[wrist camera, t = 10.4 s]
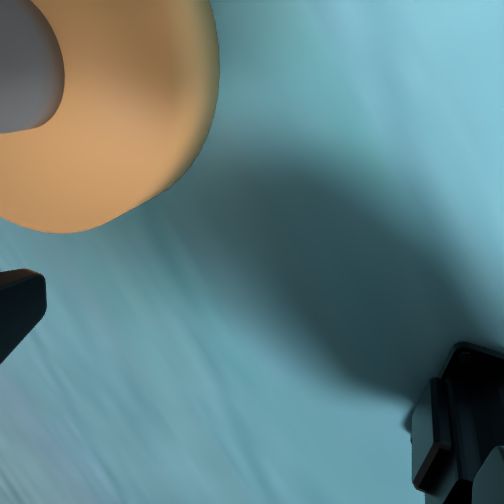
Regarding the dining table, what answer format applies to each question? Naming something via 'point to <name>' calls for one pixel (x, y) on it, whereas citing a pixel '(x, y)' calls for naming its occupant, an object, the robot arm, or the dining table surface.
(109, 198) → the orange and grey base
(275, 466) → the dining table surface
